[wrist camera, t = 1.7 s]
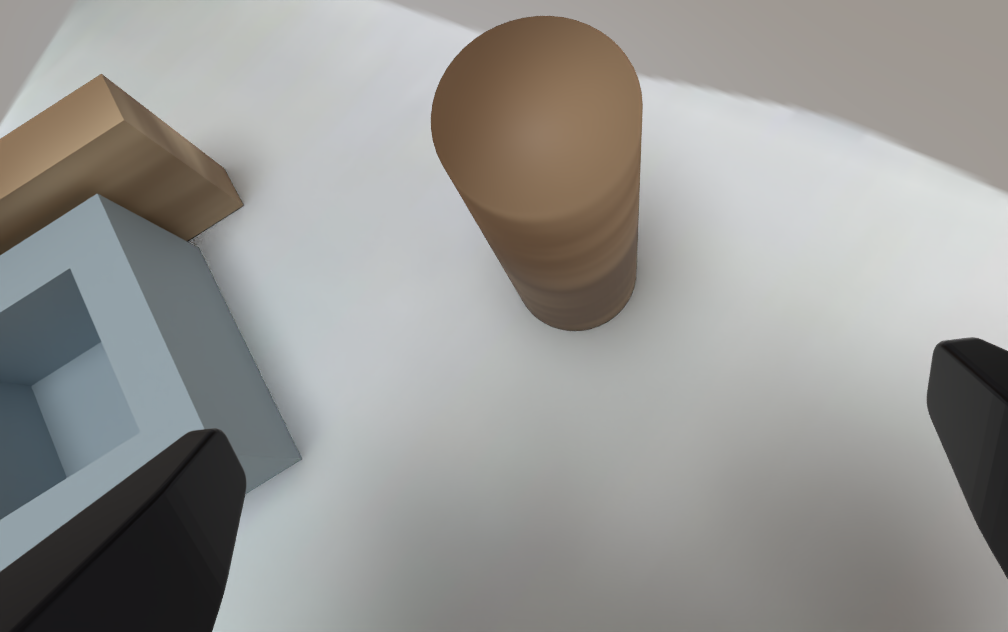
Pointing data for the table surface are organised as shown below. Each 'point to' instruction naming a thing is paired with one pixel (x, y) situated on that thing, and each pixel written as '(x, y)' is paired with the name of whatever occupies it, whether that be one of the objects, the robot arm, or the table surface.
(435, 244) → the table surface
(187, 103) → the table surface
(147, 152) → the backstop board
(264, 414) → the socket block
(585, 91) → the dowel
